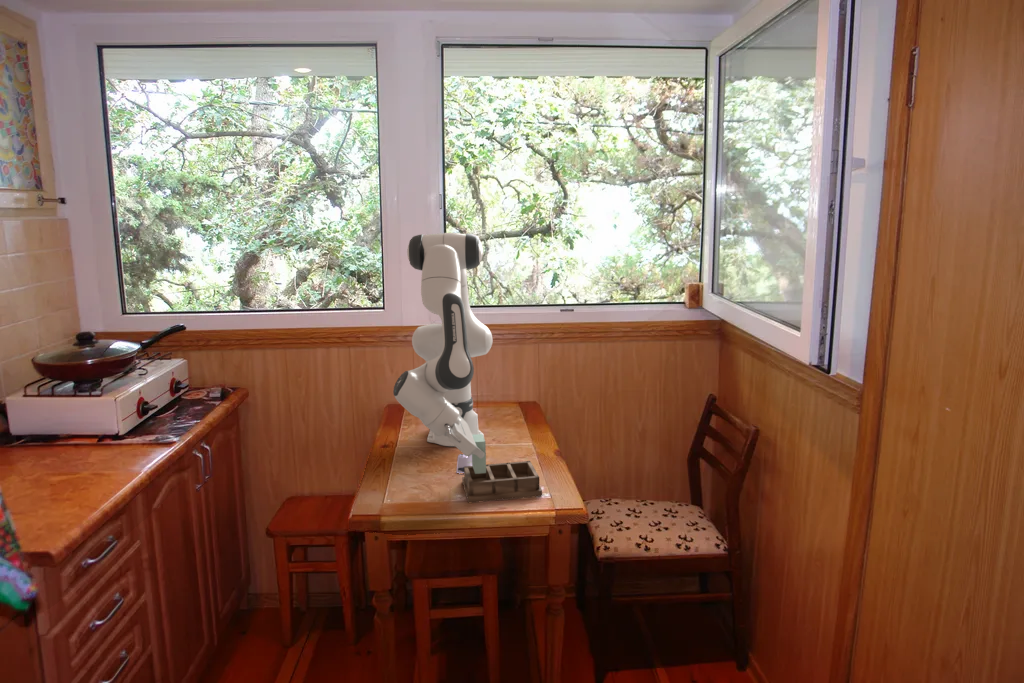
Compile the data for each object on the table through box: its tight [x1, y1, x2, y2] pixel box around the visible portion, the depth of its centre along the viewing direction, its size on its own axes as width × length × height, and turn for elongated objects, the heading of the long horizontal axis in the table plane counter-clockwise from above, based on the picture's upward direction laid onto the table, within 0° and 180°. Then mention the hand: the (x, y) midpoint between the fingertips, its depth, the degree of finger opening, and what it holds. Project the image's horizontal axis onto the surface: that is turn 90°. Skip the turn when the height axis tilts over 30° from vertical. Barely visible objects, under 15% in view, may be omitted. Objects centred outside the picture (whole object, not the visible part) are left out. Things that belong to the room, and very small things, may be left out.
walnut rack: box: [461, 460, 543, 503], centre depth 197 cm, size 14×20×5 cm
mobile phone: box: [456, 453, 472, 475], centre depth 216 cm, size 8×1×15 cm
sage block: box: [472, 434, 487, 474], centre depth 194 cm, size 6×3×9 cm, turn 11°
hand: (480, 451), depth 194 cm, fingers closed on sage block, 6 cm apart
